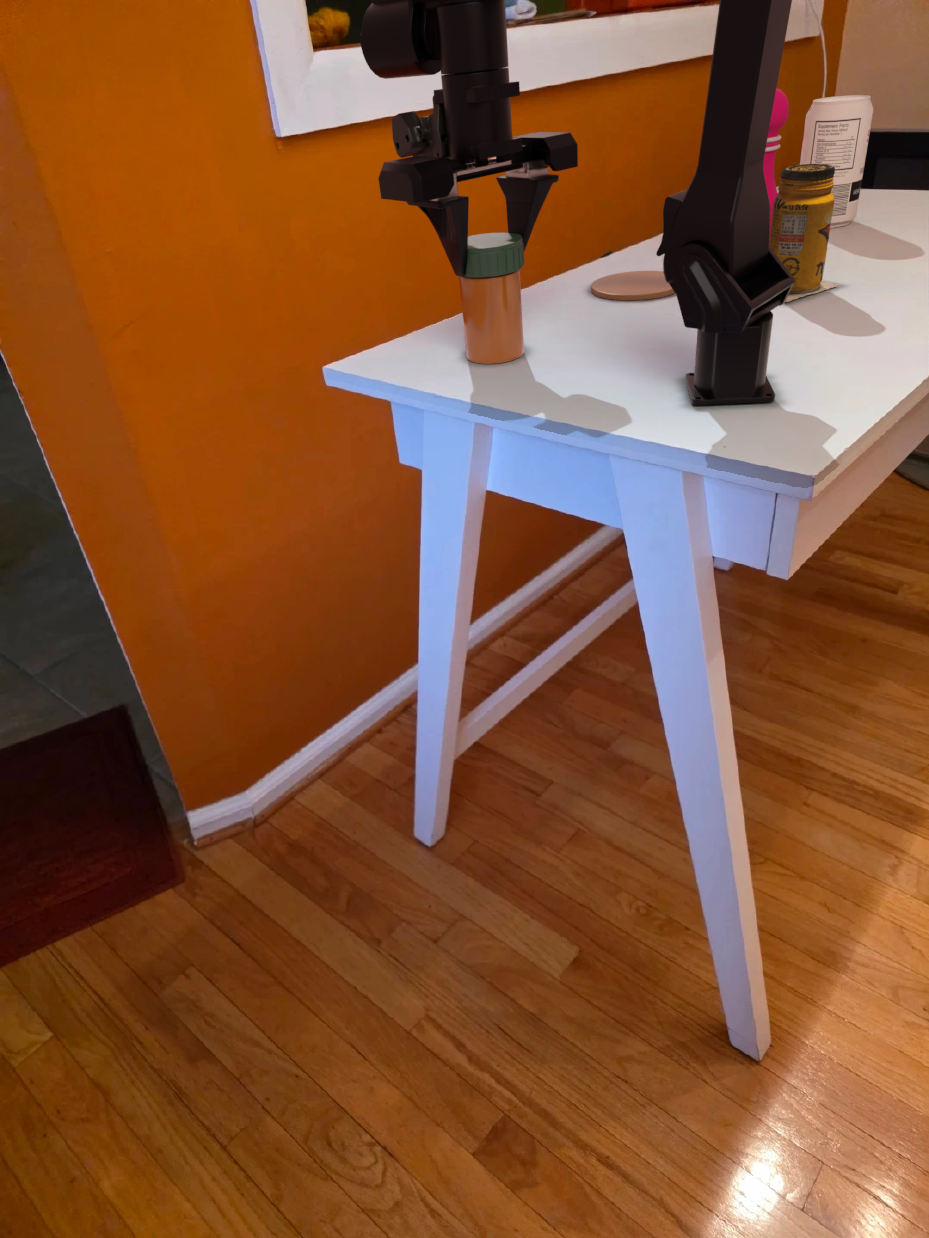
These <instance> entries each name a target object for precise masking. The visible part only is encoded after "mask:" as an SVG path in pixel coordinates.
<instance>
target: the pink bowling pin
mask: <svg viewBox="0 0 929 1238" xmlns="http://www.w3.org/2000/svg"><path fill="white" fill-rule="evenodd" d="M789 103H790V102H789V99H788V97H787V95H786V94H785V92H783V90H782V89H780V88H778V87H777V88H776V93H775V99H774V105H773V110H772V116H771V121H770V127H769V133H768V138H767V144H766V150H765V155H764V162H763V172H764V177H765V182H766V187H767V192H768V197H769V202H770V226H769V237H770V229H771V220H772V212H773V203H774V200H775V198H776V197H777V194H778V188H777V185H776V179H775V160H776V154H777V150H780V148H781V143H780V140H781V139H782V135H781V134H779V132H780V131H781V129H782V128H783V126H784V125H785V124H786V122H787V120H788V118H789V114H790V113H789V112H790V104H789Z"/></svg>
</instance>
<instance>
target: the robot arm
mask: <svg viewBox="0 0 929 1238" xmlns="http://www.w3.org/2000/svg"><path fill="white" fill-rule="evenodd" d="M371 1H372V3H370V5H369V6H368V7H367V9H366V11H365V13H364V15H363V18H362V23H361V33H360V34H359V42H360V47H361V52H362V55H363V58H364V60H365V63H366V64H367V66H368V68H369V69H370V71H371V72H372V73H373V74H374V75H375V76H377V77H378V78H381V79H385V80H387V79H399V78H409V77H410V78H411V77H423V76H432V75H433V76H434V75H436V74H438V73H440V75H441V76H440V78H441V88H440V89H433V95H432V113H431V114H429V115H426V116H420V117H419V115H418V114H417V112H416V111H413V110H412V111H407V112H400V113H397V114H395V116H394V117H393V118H391V130H392V131H391V132H392V133H391V134H392V142H393V146H394V149H395V152H396V155H397V156H398V157H399V158H398V159H393V160H388V161H384V162H383V164H382V166H381V169H380V172H379V175H378V179H377V180H378V185H379V192H380V199H381V200H389V201H398V202H405V203H406V204H407V205H408V206H413V207H414V206H415V207H418V208H419V210H420V211H421V212H423V214H424V215H425V216H426V217H427V218H428V220H429V221H430V223H431V225H432V227H433V228H434V230H435V232H436V234H437V236H438V239H439V241H440V243H441V245H442V248H443V250H444V252H445V254H446V257H447V259H448V261H449V263H450V266H451V268H452V270H454V271H453V273H454V275H455V276H456V277H458V278H459V277H464V276H465V275H466V267H467V254H468V236H469V206H470V205H469V204H470V203H469V201H470V199H469V198H470V197H469V196H467V195H466V196H465V195H459V190H458V183H460V182H465V181H470V180H474V179H478V178H483V177H489V176H492V175H498V174H503V173H505V175H501V176H496V177H495V178H496V181H497V183H498V185H499V188H500V189H501V191H502V193H503V195H504V198H505V207H506V208H505V209H506V221H507V222H506V223H507V233H515V234H519V235H521V236H522V243H523V246H524V252H525V251H526V248H527V246H528V243H529V241H530V238H531V235H532V232H533V230H534V227H535V225H536V222H537V219H538V217H539V214H540V212H541V210H542V207H543V205H544V204H545V201H546V199H547V196H548V194H549V192H550V191H551V188H552V186H553V185H554V183H558V182H559V180H560V175H559V174H553V173H552V174H550V173H549V170H550V169H551V171H552V172H561V171H564V170H568V169H569V170H570V169H574V168H578V166H579V155H578V154H579V153H578V151H579V150H578V147H579V146H578V145H579V144H578V142H577V141H576V139H575V138H574V136H573V134H572V132H570V131H569V132H567V131H536V132H531V133H526V134H521V135H516V136H513V123H512V107H511V104H512V103H511V98H514V97H519V96H521V90H520V89H521V87H520V81H510V68H509V48H508V33H507V32H508V31H507V12H506V11H507V10H506V0H371ZM792 3H793V0H719V5H718V13H717V18H716V19H717V20H716V26H715V34H714V40H713V41H714V42H713V50H712V57H711V64H710V71H709V78H708V86H707V94H706V100H705V101H706V102H705V109H704V115H703V116H704V117H703V124H702V132H701V139H700V147H699V152H698V154H699V155H698V160H697V166H696V170H695V173H694V175H693V177H692V179H691V182H690V183H689V185H688V187H687V189H684V190H682V191H679V192H677V193H674V194H672V195H669V196H667V197H666V198H665V199H664V204H663V209H662V218H663V219H662V220H663V221H662V222H663V228H662V231H663V232H662V237H661V241H660V245H659V247H658V249H657V251H656V252H655V253H656V256H657V257H661V256H663V255H664V256H663V259H662V260H663V261H662V263H663V264H662V270H663V272H664V276H665V280H666V282H667V283H669V284H670V286H671V287H672V289H673V290H674V292H675V293H674V294H675V295H676V299H677V302H678V306H679V311H680V314H681V317H682V322H683V326H684V327H685V328H686V329H695V330H697V331H696V345H695V359H694V360H695V362H694V372H687V373H686V374H685V382H686V387H687V389H688V390H687V391H688V394H689V398H690V402H691V404H692V405H696V406H707V405H708V406H709V405H710V406H711V405H729V404H730V405H731V404H732V405H733V404H734V405H735V404H753V403H756V404H757V403H772V402H775V400H776V393H775V391H774V389H773V387H772V384H771V383H770V381H769V379H768V376H767V371H768V370H767V369H768V363H769V362H768V361H769V354H770V345H771V338H772V329H773V321H774V313H773V312H772V311H773V310H774V309H776V308H777V307H780V306H782V305H783V304H785V303H786V302H785V301H786V299H787V297H788V295H789V293H790V291H791V289H792V287H793V284H794V282H795V280H794V277H793V276H792V275H791V273H790V272H789V271H788V270H787V268H786V267H785V266H784V265H783V263H782V262H781V261H780V259H779V258H778V257H777V256H776V254H775V253H774V252H773V251H772V249H771V248H770V247H769V226H770V202H769V197H768V192H767V187H766V182H765V177H764V172H763V162H764V155H765V150H766V144H767V138H768V133H769V127H770V121H771V116H772V110H773V105H774V99H775V93H776V88H778V82H779V77H780V71H781V64H782V59H783V55H784V47H785V42H786V36H787V31H788V26H789V21H790V20H789V19H790V14H791V9H792ZM549 168H550V169H549Z"/></svg>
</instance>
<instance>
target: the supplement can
mask: <svg viewBox="0 0 929 1238" xmlns="http://www.w3.org/2000/svg"><path fill="white" fill-rule="evenodd" d="M873 116H874V106H873V103H872V100H871V95H869V94H868V95H866V94H865V95H864V94H852V95H840V96H839V95H836V96H829V97H822V98H815V99H813V100H812V104H811V105H810V107H809V109H808V111H807V113H806V114H805V120H804V121H805V122H804V129H803V136H802V145H801V153H800V160H799V161H800V162H799V165H801V164H828V165H832V166H833V167H835V174H834V178H833V184H834V185H833V188H832V191H831V192H832V193H833V195H834V207H833V213H832V219H831V226H830V229H833V228H840V227H846V226H847V225H849V224H851V222H852V221H854V219H856V217H857V213H858V206H859V200H860V194H861V189H862V182H863V176H864V170H865V164H866V158H867V152H868V147H869V146H868V145H869V141H870V133H871V128H872V121H873Z"/></svg>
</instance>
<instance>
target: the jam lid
mask: <svg viewBox="0 0 929 1238" xmlns="http://www.w3.org/2000/svg"><path fill="white" fill-rule="evenodd" d="M524 266H525V251H524V246H523V243H522V236H521V235H519V234H515V233H508V232H487V233H478V234H471V235H468V254H467V267H466V275H465V276H464V277H492V276H499V275H504V274H508V273H512V272H515V271H517V270H519V269H520V270H521V269H522V268H523V267H524ZM452 270H453V269H452ZM453 272H454V270H453Z"/></svg>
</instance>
